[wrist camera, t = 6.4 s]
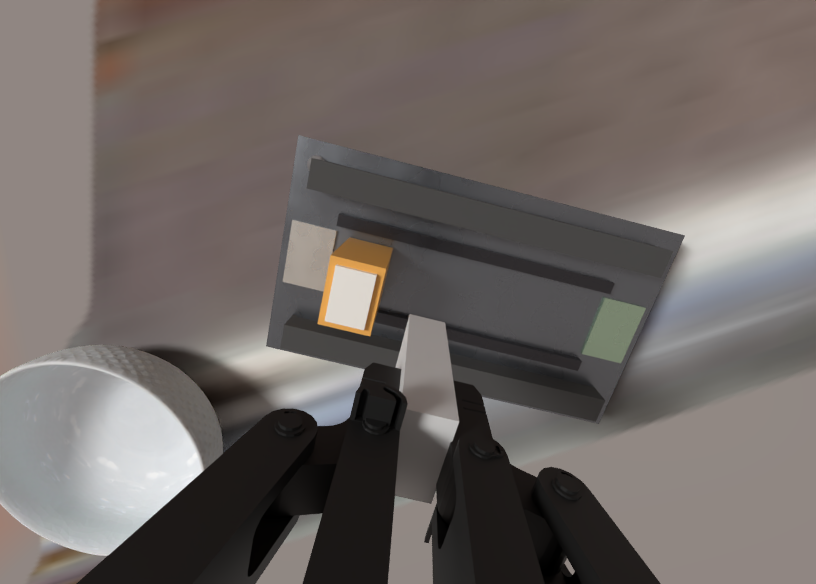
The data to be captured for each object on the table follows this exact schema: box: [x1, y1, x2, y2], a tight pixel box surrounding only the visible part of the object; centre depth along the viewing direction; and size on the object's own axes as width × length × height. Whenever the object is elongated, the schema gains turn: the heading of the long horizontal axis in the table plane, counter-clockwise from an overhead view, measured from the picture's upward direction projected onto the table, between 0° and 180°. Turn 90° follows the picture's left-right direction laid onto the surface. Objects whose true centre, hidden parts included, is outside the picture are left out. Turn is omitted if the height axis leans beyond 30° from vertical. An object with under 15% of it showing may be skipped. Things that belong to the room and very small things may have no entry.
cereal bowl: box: [0, 345, 223, 556], centre depth 31 cm, size 17×17×7 cm
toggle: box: [317, 237, 393, 336], centre depth 24 cm, size 4×3×6 cm
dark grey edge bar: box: [280, 315, 605, 422], centre depth 28 cm, size 2×23×2 cm, turn 76°
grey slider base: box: [266, 136, 684, 424], centre depth 29 cm, size 15×26×4 cm, turn 76°
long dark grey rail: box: [307, 158, 673, 278], centre depth 25 cm, size 2×23×2 cm, turn 76°
